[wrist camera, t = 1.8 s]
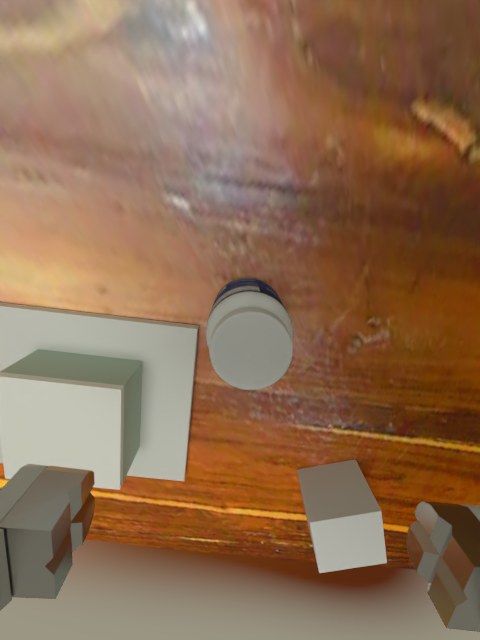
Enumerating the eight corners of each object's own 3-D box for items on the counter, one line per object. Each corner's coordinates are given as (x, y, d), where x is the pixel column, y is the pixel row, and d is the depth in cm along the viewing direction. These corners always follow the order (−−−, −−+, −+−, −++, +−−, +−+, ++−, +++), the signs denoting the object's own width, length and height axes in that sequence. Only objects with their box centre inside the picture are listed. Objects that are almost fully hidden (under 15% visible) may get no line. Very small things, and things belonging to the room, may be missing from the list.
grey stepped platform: (198, 325, 27) (187, 351, 21) (185, 473, 31) (173, 528, 26) (-11, 301, 26) (-81, 321, 21) (6, 455, 31) (-47, 507, 25)
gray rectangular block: (355, 458, 31) (381, 510, 25) (361, 504, 33) (387, 562, 27) (296, 469, 31) (309, 522, 26) (305, 513, 33) (319, 573, 27)
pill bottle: (287, 329, 27) (313, 384, 17) (226, 347, 28) (218, 411, 18) (269, 266, 25) (286, 289, 16) (204, 287, 26) (183, 321, 16)
